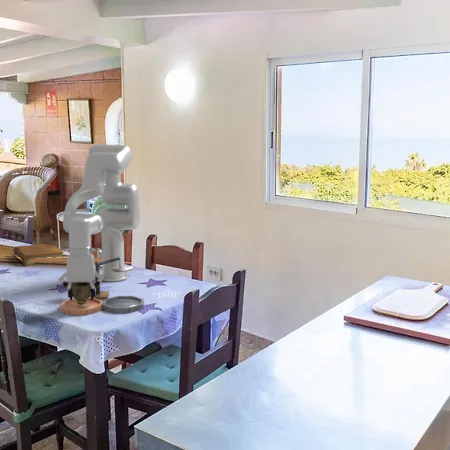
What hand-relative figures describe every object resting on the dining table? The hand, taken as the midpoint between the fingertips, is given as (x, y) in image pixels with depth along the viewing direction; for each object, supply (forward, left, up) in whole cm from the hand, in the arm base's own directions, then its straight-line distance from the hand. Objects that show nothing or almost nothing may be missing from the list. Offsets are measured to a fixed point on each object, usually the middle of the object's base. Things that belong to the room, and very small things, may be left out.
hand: (81, 298), depth 196 cm
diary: (-28, -80, -4) cm, 85 cm away
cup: (0, 0, -2) cm, 2 cm away
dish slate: (-12, +9, -4) cm, 15 cm away
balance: (-12, -7, -4) cm, 14 cm away
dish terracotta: (0, 0, -4) cm, 4 cm away
